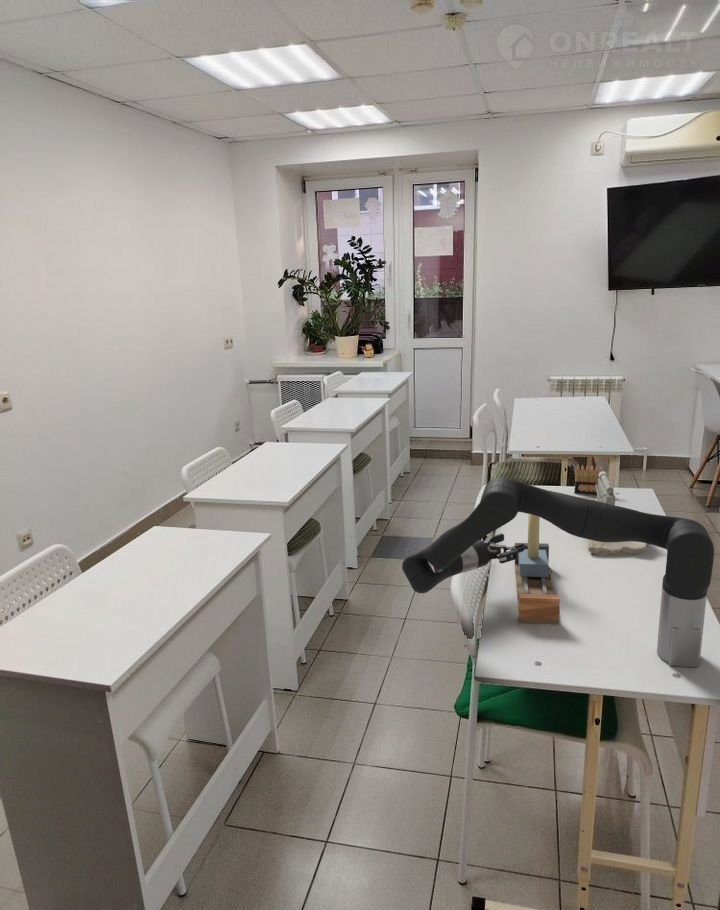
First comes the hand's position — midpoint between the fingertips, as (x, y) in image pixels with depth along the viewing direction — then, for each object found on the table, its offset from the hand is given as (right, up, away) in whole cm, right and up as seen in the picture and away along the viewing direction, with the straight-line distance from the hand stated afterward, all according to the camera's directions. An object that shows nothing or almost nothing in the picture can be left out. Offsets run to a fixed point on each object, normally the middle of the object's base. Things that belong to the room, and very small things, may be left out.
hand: (513, 541), depth 185 cm
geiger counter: (+45, +4, +52) cm, 69 cm away
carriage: (+7, -9, +7) cm, 14 cm away
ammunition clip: (+47, +9, +71) cm, 86 cm away
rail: (+6, -14, -1) cm, 16 cm away
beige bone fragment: (+40, -4, +29) cm, 50 cm away
